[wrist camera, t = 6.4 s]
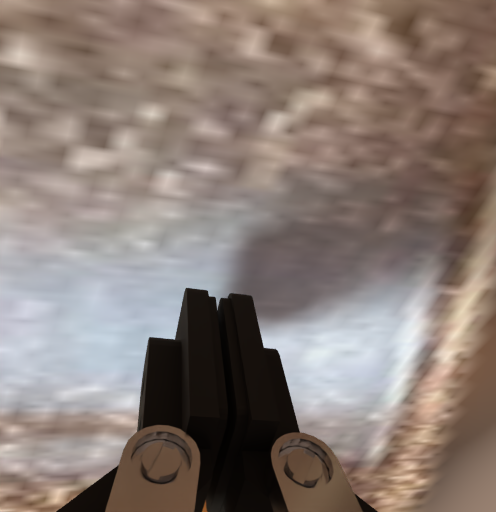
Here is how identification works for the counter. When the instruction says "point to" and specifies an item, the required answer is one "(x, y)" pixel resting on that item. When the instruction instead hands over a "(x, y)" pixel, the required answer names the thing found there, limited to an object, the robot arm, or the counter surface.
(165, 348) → the robot arm
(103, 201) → the counter surface
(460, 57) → the counter surface
